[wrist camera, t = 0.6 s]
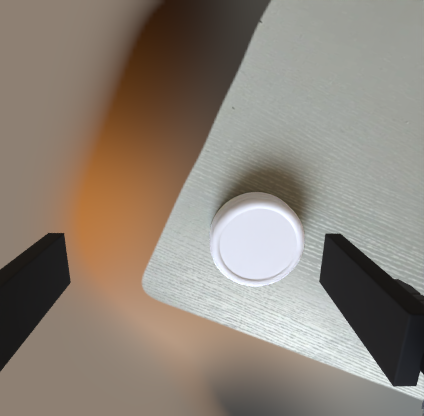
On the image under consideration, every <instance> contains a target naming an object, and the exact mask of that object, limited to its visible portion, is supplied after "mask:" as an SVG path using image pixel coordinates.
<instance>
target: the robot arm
mask: <svg viewBox="0 0 424 416" xmlns="http://www.w3.org/2000/svg"><path fill="white" fill-rule="evenodd" d="M319 282H320V283H321V285H322V286H323V288H324V289H325V290H326V292H327V293H328V295H329V296H330V297H331V299H332V300H333V302H334V303H335V305H336V306H337V307H338V309H339V310H340V312H341V313H342V314H343V316H344V317H345V319H346V320H347V321H348V323H349V324H350V326H351V327H352V329H353V330H354V331H355V333H356V334H357V336H358V337H359V338H360V340H361V341H362V343H363V344H364V346H365V347H366V348H367V350H368V351H369V353H370V354H371V355H372V357H373V358H374V360H375V361H376V362H377V364H378V365H379V367H380V368H381V370H382V371H383V372H384V374H385V375H386V377H387V378H388V379H389V381H390V382H391V384H392V385H393V386H416V385H417V381H418V377H419V373H420V371H421V372H422V373H423V374H424V296H423V295H421V294H420V293H419V292H418V291H417V290H416V289H414V288H413V287H412V286H410V285H408V284H406V283H404V282H402V281H401V280H399V279H393V278H392V277H391V276H390V275H388V274H387V273H386V272H385V271H384V270H382V269H381V268H380V267H379V266H378V265H377V264H375V263H374V262H373V261H372V260H371V259H370V258H368V257H367V256H366V255H365V254H364V253H362V252H361V251H360V250H359V249H358V248H357V247H355V246H354V245H353V244H352V243H351V242H350V241H348V240H347V239H346V238H345V237H344V236H343V235H341V234H325V242H324V250H323V257H322V265H321V273H320V281H319ZM69 284H70V275H69V267H68V260H67V253H66V245H65V237H64V233H48V234H47V235H45V236H44V237H43V238H41V239H40V240H39V241H37V242H36V243H35V244H33V245H32V246H31V247H29V248H28V249H27V250H25V251H24V252H23V253H22V254H20V255H19V256H18V257H16V258H15V259H14V260H12V261H11V262H10V263H8V264H7V265H6V266H4V267H3V268H2V269H1V270H0V371H1V370H2V369H3V368H4V366H5V365H6V364H7V363H8V361H9V360H10V359H11V357H12V356H13V355H14V354H15V352H16V351H17V350H18V349H19V347H20V346H21V345H22V343H23V342H24V341H25V340H26V338H27V337H28V336H29V335H30V333H31V332H32V331H33V330H34V328H35V327H36V326H37V325H38V323H39V322H40V321H41V319H42V318H43V317H44V316H45V314H46V313H47V312H48V311H49V309H50V308H51V307H52V306H53V304H54V303H55V301H56V300H57V299H58V298H59V297H60V295H61V294H62V293H63V291H64V290H65V289H66V288H67V286H68V285H69ZM422 409H424V401H423V404H422ZM423 416H424V410H423Z"/></svg>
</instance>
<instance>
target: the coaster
mask: <svg viewBox="0 0 424 416" xmlns="http://www.w3.org/2000/svg"><path fill="white" fill-rule="evenodd" d="M209 239H210V251H211V256H212V258H213V261H214V263H215V264H216V266H217V267H218V269H219V270H220V271H221V272H222V273H223V274H224V275H225V276H226V277H228V278H229V279H231V280H232V281H234V282H236V283H239V284H242V285H246V286H264V285H269V284H272V283H274V282H277V281H279V280H281V279H282V278H284V277H285V276H287V275H288V274H289V273H290V272H291V271H292V270H293V269H294V268H295V267H296V265H297V264H298V262H299V261H300V258H301V256H302V254H303V250H304V245H305V234H304V229H303V225H302V223H301V221H300V219H299V218H298V216H297V215H296V213H295V212H294V211H293V210H292V209H291V208H290V207H289V206H288V205H287V204H286V203H285V202H284V201H282V200H281V199H280V198H278V197H276V196H274V195H271V194H268V193H263V192H250V193H245V194H241V195H239V196H236V197H234V198H232V199H231V200H229V201H228V202H227V203H225V204H224V205H223V206H222V207H221V208H220V209H219V211H218V212H217V213H216V215H215V217H214V219H213V221H212V224H211V227H210V234H209Z"/></svg>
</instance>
